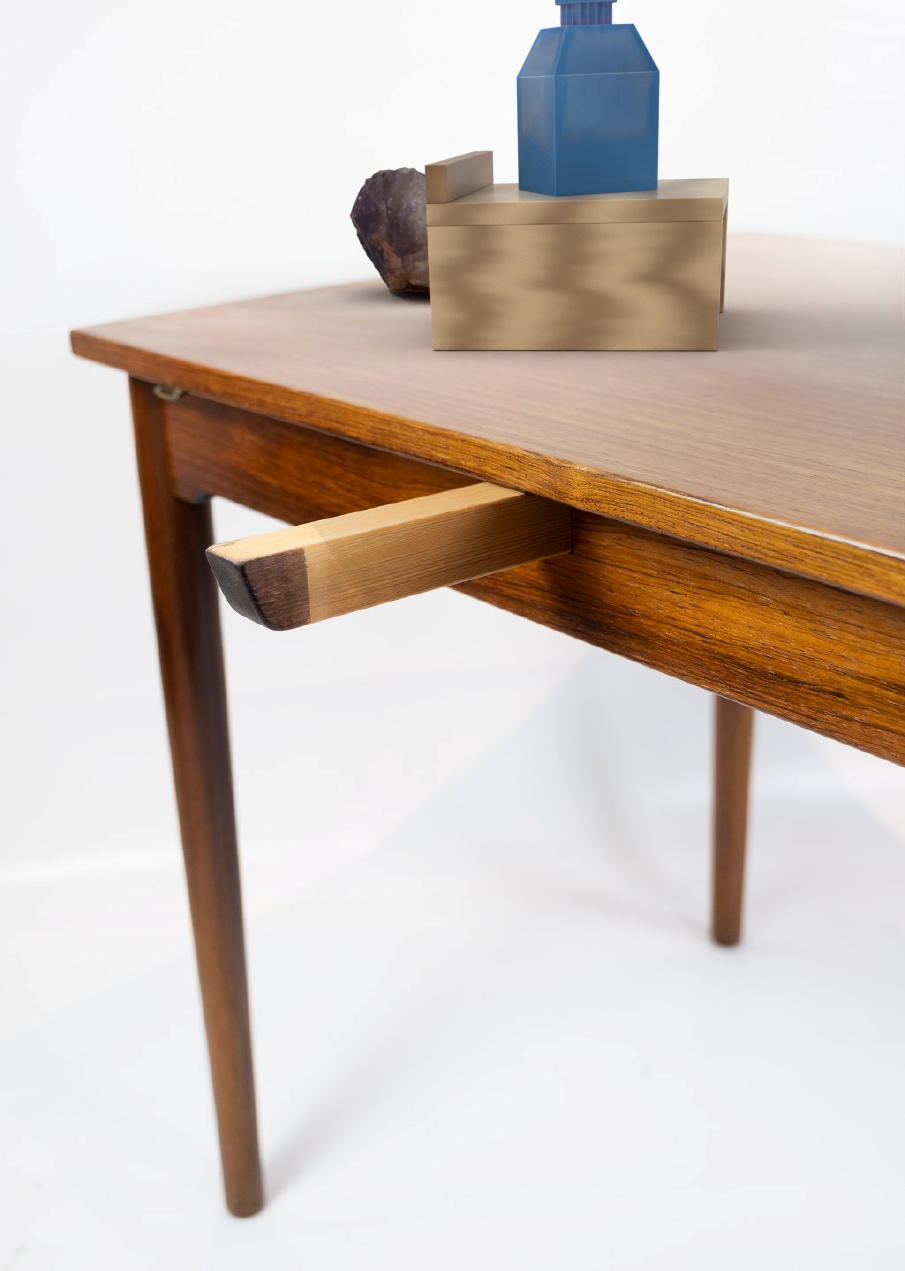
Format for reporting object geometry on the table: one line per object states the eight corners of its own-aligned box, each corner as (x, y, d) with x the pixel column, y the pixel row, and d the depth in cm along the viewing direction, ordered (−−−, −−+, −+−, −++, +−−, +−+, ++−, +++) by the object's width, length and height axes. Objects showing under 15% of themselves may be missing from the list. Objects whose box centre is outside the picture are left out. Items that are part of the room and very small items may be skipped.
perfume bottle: (657, 189, 76) (661, -47, 71) (555, 196, 74) (553, -45, 70) (614, 183, 81) (616, -36, 77) (518, 189, 80) (514, -34, 75)
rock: (491, 298, 102) (361, 297, 103) (493, 180, 100) (360, 181, 101) (480, 296, 91) (334, 295, 91) (481, 163, 89) (332, 164, 89)
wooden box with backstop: (723, 309, 85) (730, 143, 82) (717, 350, 73) (724, 156, 69) (479, 310, 89) (474, 151, 85) (432, 350, 76) (424, 165, 72)
